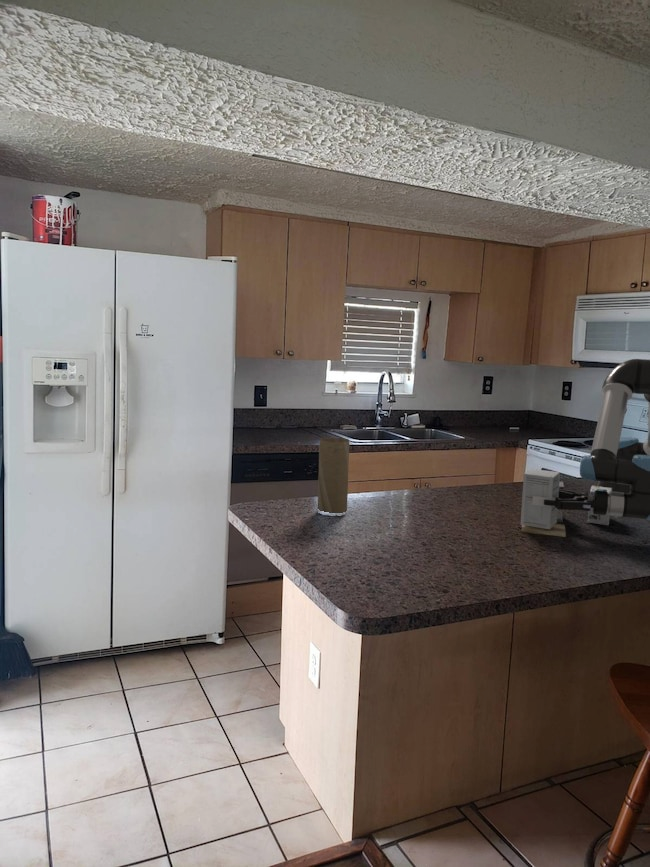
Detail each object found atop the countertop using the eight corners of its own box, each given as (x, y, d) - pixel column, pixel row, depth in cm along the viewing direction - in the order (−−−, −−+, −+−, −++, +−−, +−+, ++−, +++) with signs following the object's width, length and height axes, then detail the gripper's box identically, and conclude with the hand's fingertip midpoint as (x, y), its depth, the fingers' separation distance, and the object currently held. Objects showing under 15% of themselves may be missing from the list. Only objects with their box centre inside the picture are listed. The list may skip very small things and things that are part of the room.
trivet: (522, 521, 216) (522, 520, 216) (564, 526, 212) (564, 524, 212) (521, 531, 205) (521, 530, 205) (565, 536, 201) (565, 535, 201)
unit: (537, 512, 228) (539, 479, 226) (561, 515, 225) (564, 481, 223) (537, 519, 219) (539, 484, 217) (562, 522, 217) (565, 487, 215)
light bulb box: (608, 526, 215) (611, 494, 213) (586, 523, 217) (589, 491, 216) (609, 518, 224) (612, 487, 222) (588, 515, 227) (591, 484, 225)
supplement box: (557, 523, 211) (561, 472, 208) (550, 530, 203) (554, 477, 200) (527, 517, 216) (531, 468, 213) (519, 524, 208) (523, 472, 205)
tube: (341, 507, 227) (343, 437, 223) (351, 515, 218) (353, 441, 214) (313, 509, 224) (315, 437, 220) (322, 517, 215) (324, 442, 211)
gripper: (609, 525, 191) (531, 516, 198) (602, 505, 213) (532, 498, 220) (612, 500, 190) (533, 492, 197) (605, 483, 212) (534, 477, 219)
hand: (532, 496), depth 208 cm, fingers closed on supplement box, 11 cm apart
